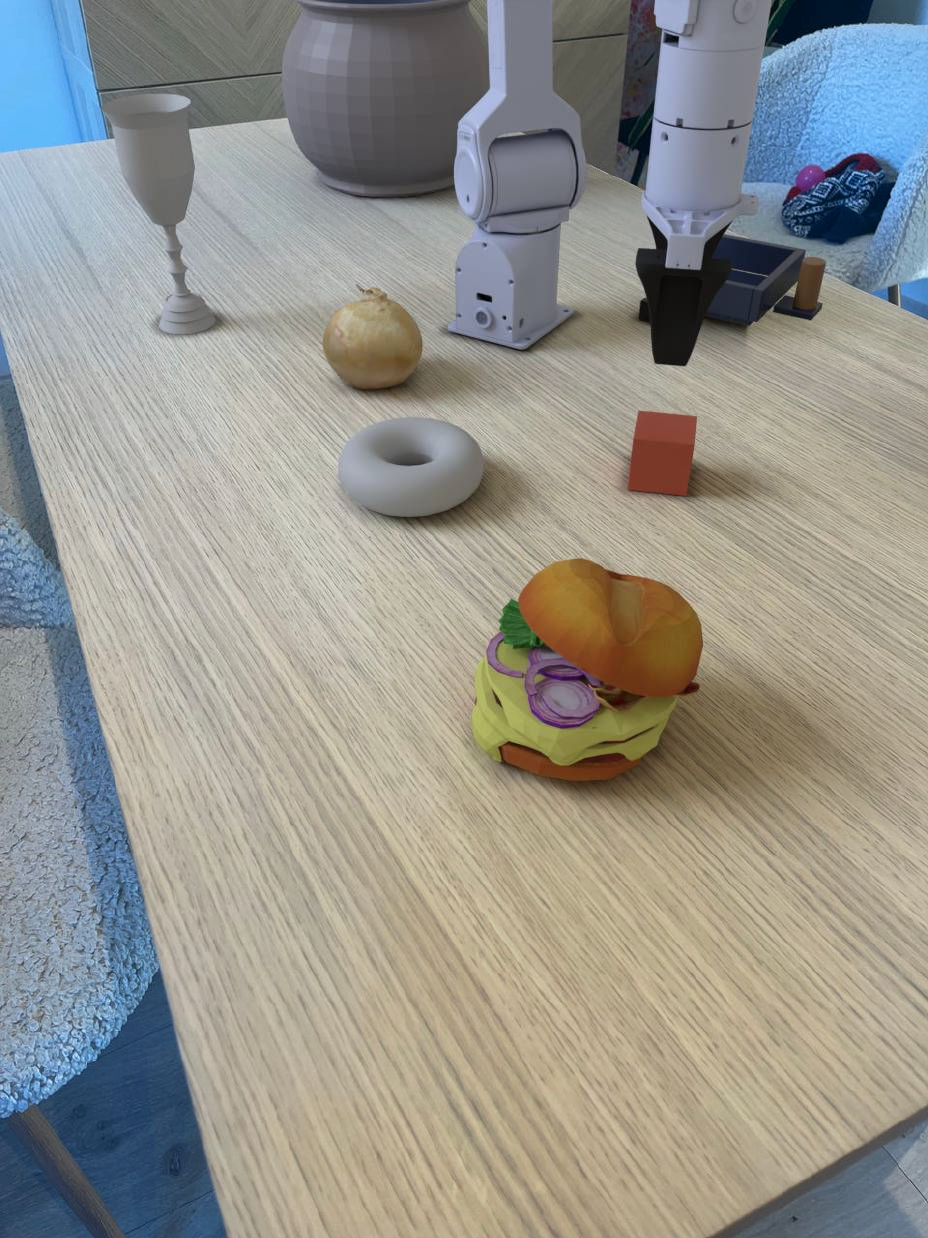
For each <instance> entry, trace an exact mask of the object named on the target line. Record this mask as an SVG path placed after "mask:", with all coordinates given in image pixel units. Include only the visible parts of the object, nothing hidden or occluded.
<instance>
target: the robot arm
mask: <svg viewBox="0 0 928 1238" xmlns="http://www.w3.org/2000/svg"><path fill="white" fill-rule="evenodd" d="M771 8H772V0H654V9H653V15H654V16H655V25H656V27H657V28H659V29H661V37H660V46H659V47H660V48H659V49H660V50H659V59H658V69H657V77H656V86H655V87H656V88H655V98H654V106H653V116H652V125H651V126H652V127H651V134H650V145H649V153H648V154H649V155H648V164H647V173H646V183H645V184H646V185H645V189H644V190H643V191H642V193H641V201H640V208H641V210H642V212H643V213H644V214H645V216H646V218H647V221H648V223H649V226H650V230H651V233H652V236H653V241H654V245H655V248H647V247H645V248H644V247H638V248H637V250H636V251H637V252H636V256H635V263H634V264H635V269H636V274H637V276H638V279H639V280H640V283H641V285H642V288H643V290H644V294H645V298H647V303H648V308H649V315H650V322H649V327H650V329H649V330H650V341H651V342H650V343H651V351H652V358H653V363H654V365H663V366H675V367H687V365H688V363H689V362H690V359H691V357H692V355H693V353H694V350H695V346H696V343H697V340H698V338H699V334H700V332H701V329H702V327H703V326H702V325H703V323H704V319H705V318H706V316H705V315H706V313H707V310H708V308H709V306H710V304H711V302H712V301H713V299H714V297H715V296H716V294H717V293H718V291H719V290H720V288H721V287H722V286H723V284H724V283H725V282H726V280H727V278H728V277H729V275H730V273H731V270H732V260H728V259H713V258H712V256H713V254H714V252H715V250H716V247H717V246H718V244H719V242H720V240H721V238H722V236H723V235H724V234H726V232H727V230H728V229H729V227H730V225H731V224H732V223H733V221H734V220H735V219H737V218H738V217H741V216H748V217H749V216H751V217H752V216H756V215H757V214H758V213H759V206H760V197H759V196H758V195H755V194H750V193H749V194H748V193H742V188H743V182H744V176H745V169H746V163H747V157H748V151H749V144H750V138H751V133H752V126H753V119H754V114H755V107H756V100H757V95H758V89H759V82H760V75H761V70H762V63H763V56H764V50H765V46H766V45H765V43H766V38H767V33H768V32H767V31H768V28H769V27H768V25H769V19H770V13H771ZM486 11H487V14H486V15H487V42H488V45H489V74H490V89H489V90H488V92H487V93H486V94H485V95H484V96H483V97H482V98H481V99H480V100H479V102H478V103H477V104H476V105H475V106H474V107H473V108H471V109H470V110H469V111H468V112H467V113H466V114H465V115H464V116H463V118H462V119H461V120H460V121H459V123H458V131H457V154H456V158H455V164H454V182H455V186H454V190H455V194H456V198H457V202H458V204H459V207H460V209H461V211H462V212H463V214H464V215H465V216H467V218H468V219H469V220H470V221H471V222H472V223H475V226H474V231H473V232H472V233H473V234H472V236H471V238H470V239H469V241H468V242H466V244H465V245H464V246H463V247H462V248H461V250H460V251H459V252H458V254H457V256H456V260H455V268H454V284H455V286H454V288H455V291H454V292H455V319H454V320H453V321H451V322H450V323H448V324H447V331H448V332H451V333H455V334H459V335H463V336H467V337H471V338H475V339H478V340H482V341H486V342H489V343H494V344H497V345H501V346H505V347H508V348H513V349H516V350H521V351H523V350H527V349H528V348H529V347H530V346H532V345H533V344H535V343H536V342H537V341H538V340H540V339H541V338H543V337H544V336H545V335H547V334H548V333H550V332H551V331H553V330H554V329H555V328H556V327H558V326H559V325H560V324H562V323H563V322H565V321H566V320H568V318H570V317H571V316H573V315H574V314H575V309H574V308H573V307H571V306H567V305H563V304H558V303H557V302H558V285H559V283H558V281H559V266H560V249H561V248H560V247H561V230H562V229H561V228H562V223H564V222H569V221H570V210H573V209H574V208H576V207H577V205H578V204H579V202H580V200H581V199H582V196H583V194H584V192H585V189H586V185H587V177H588V174H587V173H588V168H587V167H588V166H587V159H586V158H587V157H586V153H585V150H584V147H583V141H582V130H581V116H580V115H579V113H578V112H577V111H576V110H575V109H574V108H573V107H572V106H571V105H570V104H569V103H567V102H566V101H565V100H564V99H563V98H562V97H561V96H559V95H558V94H557V93H556V92H555V91H554V66H553V65H554V59H553V58H554V57H553V56H554V53H553V51H554V49H553V47H554V41H553V40H554V33H553V31H554V30H553V25H554V23H553V12H554V10H553V0H486ZM542 130H546V131H543V132H542ZM534 131H541V132H534ZM524 132H533V133H525V134H524ZM515 133H523V134H516V135H508V134H515ZM506 134H507V135H508V136H502V135H506Z"/></svg>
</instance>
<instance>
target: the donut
mask: <svg viewBox="0 0 928 1238" xmlns="http://www.w3.org/2000/svg"><path fill="white" fill-rule="evenodd" d="M485 466H486V465H485V460H484V456H483V452H482V449H481V447H480V445H479V443H478V442H477V441H476V439H474V438H473V436H471V435H470V434H469V432H468V431H466V430H465V429H463V428H462V427H459V426H458V425H455V424H453V423H451V422H449V421H444V420H441V419H437V418H431V417H430V418H429V417H421V416H420V417H419V416H407V417H396V418H391V419H386V420H382V421H377V422H375V423H373V424H371V425H368V426H366V427H364V428H362V429H360V430H359V431H358V432H357V433H356V434H355V435H353V436H352V437H351V438H350V439H348V440H347V441H346V443H345V445H344V447H343V448H342V451H341V452H340V454H339V457H338V459H337V470H338V478H339V482H340V484H341V486H342V487H343V488H344V490H345V491H346V492H347V494H348V496H349V497H350V498H351V499H352V500H353V501H354V502H356V503H358V504H360V505H361V506H362V507H364V508H366V509H367V510H369V511H372V512H376V513H379V514H382V515H385V516H390V517H391V516H393V517H401V518H415V517H429V516H433V515H436V514H439V513H443V512H446V511H449V510H451V509H453V508H455V507H456V506H458V505H461V504H462V503H464V502H465V501H466V500H468V499H469V497H471V496H472V495H473V494H474V493H475V492H476V491H477V490H478V488H479V487H480V484H481V481H482V479H483V475H484V471H485Z"/></svg>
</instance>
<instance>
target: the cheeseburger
mask: <svg viewBox="0 0 928 1238" xmlns="http://www.w3.org/2000/svg"><path fill="white" fill-rule="evenodd" d="M501 611H502V614H503V615H502V616H501V617H500V618H499V619H498V622H499V624H500V626H499V628H498V631H497V632H496V633H495V634H494V635H493V636H492V638H491V639H490V640H489V643H488V645H487V648H486V650H485V655H484V656H483V657H482V659H481V660H480V661H479V662H478V665H477V667H476V671H475V674H474V692H475V699H474V707H473V708H472V712H471V713H472V714H471V720H470V721H471V724H470V728H471V731H472V734H473V737H474V741H475V743H477V744H478V745H479V746H480V748H482V750H483V751H484V752H485V753H486V754H487V755H488V756H489V758H490V759H491V760H493V761H495V762H497V763H499V764H500V763H501V762H502V759H503V761H505V762H506V763H507V764H510V765H513V766H515V767H517V768H520V769H523V770H524V771H527V772H530V773H531V774H535V775H537V776H540V777H541V776H542V777H547V778H553V779H561V780H566V781H573V782H580V781H598V780H599V781H601V780H602V781H603V780H605V781H606V780H611V779H612V778H615V777H617V776H619V775H621V774H623V773H625V772H626V771H629V770H631V769H632V768H635V767H637V766H638V765H639V763H640V761H641V760H642V759H643V757H644V755H646V754H647V753H648V752H649V751H651V750H652V749H654V748H656V747H657V746H658V744H659V740H660V737H661V734H662V733H663V731H664V730H665V728H666V726H667V724H668V722H669V721H668V720H669V718H670V716H671V713H672V712H673V710H674V709H675V708H676V705H677V703H678V700H679V698H689V697H691V696H694V695H696V694H698V693H699V691H700V688H701V684H699V683H698V682H697V681H696V682H695V681H694V679H695V678H696V676H697V673H698V669H699V665H700V660H701V657H702V652H703V649H704V640H703V639H704V638H703V627H702V622H701V620H700V618H699V615H698V613H697V611H696V610H695V609H694V608H693V607H692V606H691V604H690V603H689V602H688V600H686V599H685V598H684V596H682V594H681V593H680V592H679V591H677V590H676V589H674V588H673V587H671V586H669V585H668V584H665V583H664V582H661V581H658V580H655V579H652V578H648V577H644V576H639V575H632V574H626V573H618V572H615V571H613V570H610V569H606V568H605V567H604V566H602V565H601V564H600V563H597V562H595V561H593V560H590V559H586V558H582V557H580V558H571V559H564V560H557V561H554V562H553V563H551V564H549V565H548V566H546V567H544V568H542V569H541V570H540V571H538V572H536V573H535V574H534V576H533V577H531V579H530V580H529V581H528V582H527V583H526V585H525V586H524V587H523V589H522V591H521V592H520V594H519V596H518V598H517V600H514V599H512V598H510V599H509V601H508V602H507V603H506V604H505V606H503V608H501Z"/></svg>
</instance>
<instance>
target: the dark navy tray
mask: <svg viewBox="0 0 928 1238" xmlns="http://www.w3.org/2000/svg"><path fill="white" fill-rule="evenodd" d="M806 253H807V249H805V248H799V247H794V246H789V245H784V244H778V243H774V242H769V241H763V240H758V239H753V238H747V237H742V236H736V235H731V234H726V233H724V235H723V236H722V238H721V240H720V242H719V244H718V246H717V247H716V250H715V252H714V254H713V256H712V258H713V259H728V260H732V270H731V273H730V275H729V277H728V278H727V280H726V282H725V283H724V284H723V286H722V287H721V288H720V290H719V291H718V293H717V294H716V296H715V297H714V299H713V301H712V302H711V304H710V306H709V308H708V310H707V313H706V315H705V317H707V318H711V319H716V320H721V321H725V322H729V323H733V324H738V325H743V326H747V327H750V326H751V325H752V324H754V323H758V322H759V321H760V320H761V319H762V318H763V317H764V316H765V315H766V314H767V313H768V312H769V311H770V310H771V309H772V308H773V309H772V313H774V314H779V315H784V316H787V317H793V318H797V319H801V320H805V321H806V320H807V321H813V319H814V318H815V317H816V316H817V315H818V314H819V312H820V311H821V310H822V308H823V304H824V303H823V302H819V301H818V300H819V297H820V292H821V289H822V283H823V279H824V275H825V270H826V266H827V261H826V260H825V259H823V258H821V257H817V256H806ZM805 256H806V257H805ZM795 285H796V288H795V293H794V296H791V295H786V294H787V293H788V292H789V291H790V290H791V289H792V288H794V286H795Z"/></svg>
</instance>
